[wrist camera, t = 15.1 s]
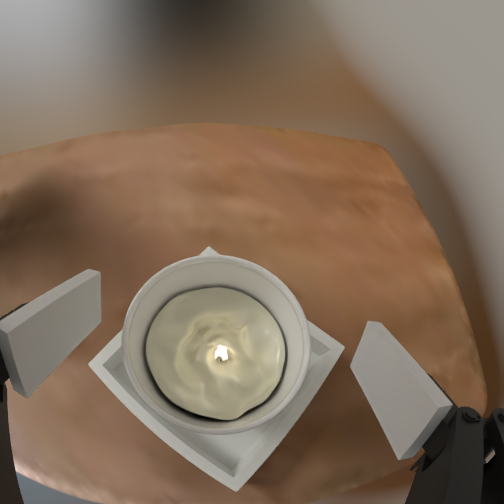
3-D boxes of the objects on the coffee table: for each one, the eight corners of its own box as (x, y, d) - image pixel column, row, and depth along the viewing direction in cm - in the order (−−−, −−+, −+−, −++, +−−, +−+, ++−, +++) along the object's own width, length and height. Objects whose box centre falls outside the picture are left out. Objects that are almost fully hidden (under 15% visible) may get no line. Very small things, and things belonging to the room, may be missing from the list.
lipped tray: (104, 371, 22) (88, 364, 18) (208, 266, 30) (208, 246, 26) (232, 480, 18) (236, 492, 15) (328, 356, 26) (345, 346, 23)
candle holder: (287, 388, 23) (345, 367, 13) (193, 439, 19) (178, 466, 9) (233, 303, 27) (249, 230, 17) (143, 346, 23) (97, 295, 13)
